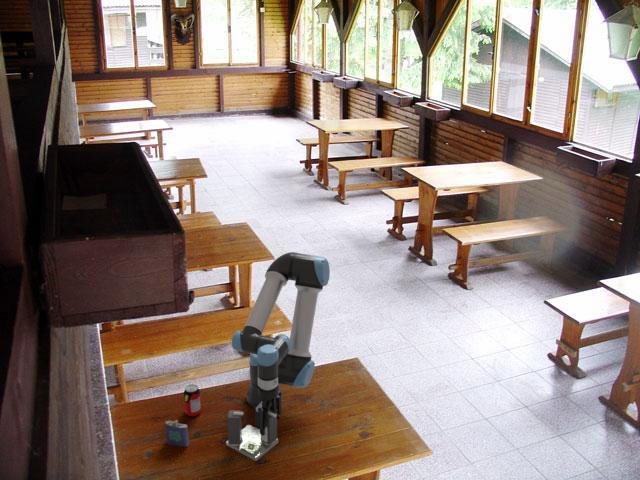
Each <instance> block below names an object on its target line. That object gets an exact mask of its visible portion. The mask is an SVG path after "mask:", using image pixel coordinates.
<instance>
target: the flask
mask: <svg viewBox="0 0 640 480" xmlns="http://www.w3.org/2000/svg"><path fill="white" fill-rule="evenodd" d="M164 426H165V441H166V444H168V445H170V446H175V447H180V448H187V447H189V444H190V441H189V428H188V427H189V426H188V424H185V423H179V420H178V419H176V420H174V421H172V420H167V421H166V422H165V423H164Z"/></svg>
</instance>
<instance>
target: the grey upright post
mask: <svg viewBox="0 0 640 480" xmlns="http://www.w3.org/2000/svg"><path fill="white" fill-rule="evenodd" d="M244 415H245V414H244V411H242V410H235V409H234V410H232V409H229V410H228V415H227V436H228V439H229V444H240V443H241V439H242V429H243V428H242V427H243V426H242V416H244Z"/></svg>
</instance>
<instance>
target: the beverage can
mask: <svg viewBox="0 0 640 480" xmlns="http://www.w3.org/2000/svg"><path fill="white" fill-rule="evenodd" d="M183 399H184V412H185V414H186V415H187V416H189V417H196V416H198V415H199V414H200V413H201V411H202V408H201V407H202V405H201V391H200V389H199V387H198V385H197V384H189V385H186V386H185V388H184V391H183Z"/></svg>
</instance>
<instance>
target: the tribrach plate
mask: <svg viewBox="0 0 640 480" xmlns="http://www.w3.org/2000/svg"><path fill="white" fill-rule="evenodd" d="M278 443H279V439H278V438H277V439H276V440H275V441H274V442H272V443H271V444H270V445H269V444H267V443H265V442H263V441H262V440H261V434H260V429H258V428H256V426H253V425H251V424H247V425H246V426H245V427H243V428H242V439H241V443H240V444H229V439H228V440H227V441H226V442H225V445H226V447H229V448H231V449H233V450H234V449H235V450H234V451H236V450H237V452H238V453H240V454H242V455H244V456H245V457H247V458H249V459H252V461H255V462H258V460H260V459H261V458H262V457H263V456H264V455H265V454H266V453H267V452H269V451H270V450H271V449H273V448H274V447H275V446H276V445H277V444H278Z"/></svg>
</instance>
